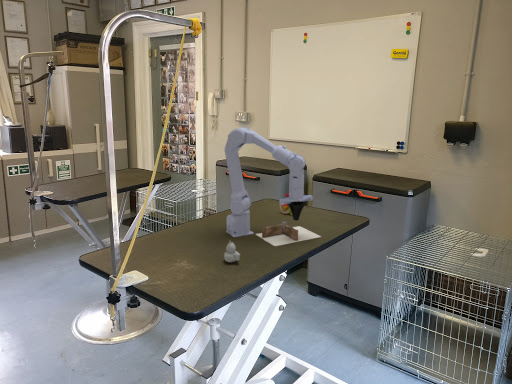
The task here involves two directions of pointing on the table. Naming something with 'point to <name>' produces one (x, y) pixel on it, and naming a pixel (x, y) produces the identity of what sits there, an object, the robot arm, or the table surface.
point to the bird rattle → (285, 207)
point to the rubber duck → (231, 253)
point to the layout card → (285, 239)
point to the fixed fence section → (273, 230)
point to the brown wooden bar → (291, 232)
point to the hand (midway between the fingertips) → (295, 219)
